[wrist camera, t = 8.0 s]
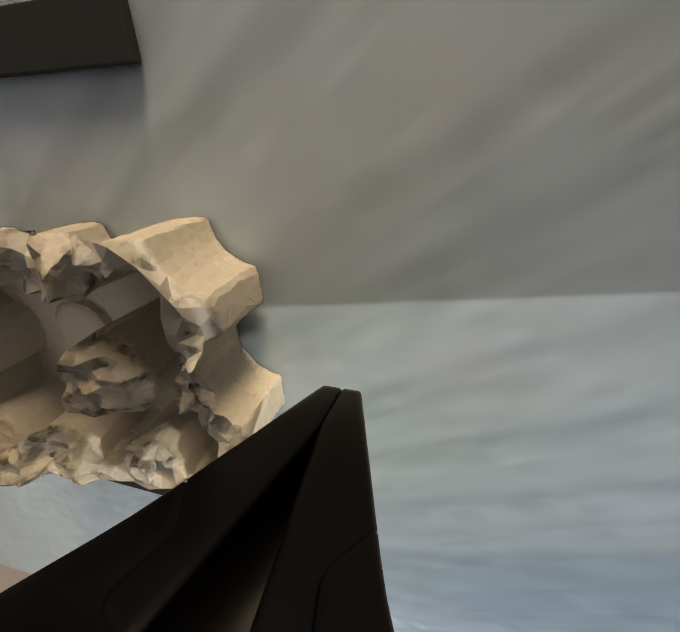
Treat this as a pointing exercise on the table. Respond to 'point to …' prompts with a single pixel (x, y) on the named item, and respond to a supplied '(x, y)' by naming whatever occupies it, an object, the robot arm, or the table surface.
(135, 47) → the bay strips
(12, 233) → the tan rough lump
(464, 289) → the table surface
